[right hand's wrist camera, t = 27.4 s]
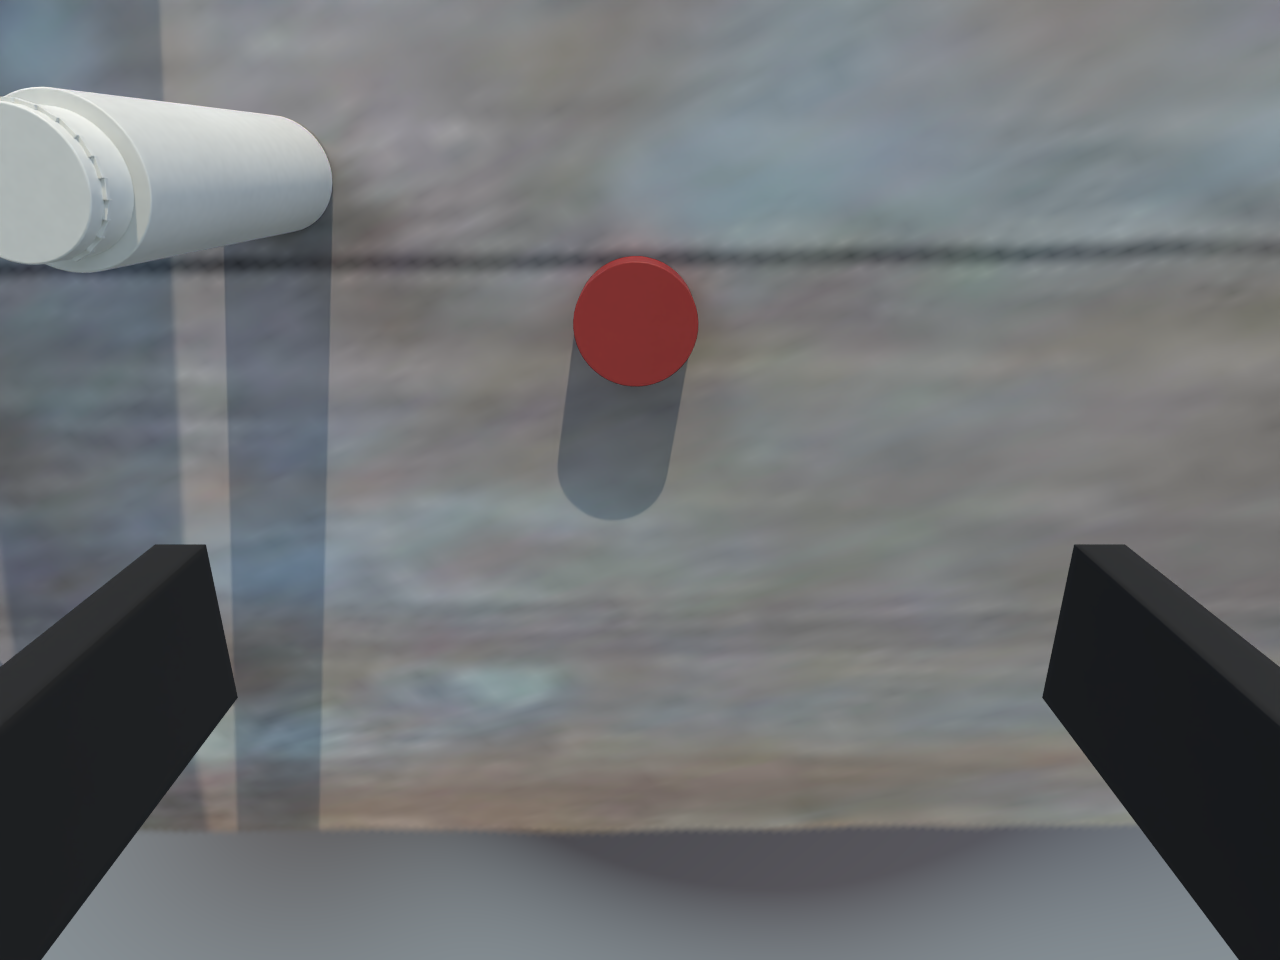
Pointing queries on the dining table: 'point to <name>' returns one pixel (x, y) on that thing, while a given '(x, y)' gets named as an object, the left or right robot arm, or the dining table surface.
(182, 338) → the dining table surface
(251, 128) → the white cylinder
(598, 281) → the lid
